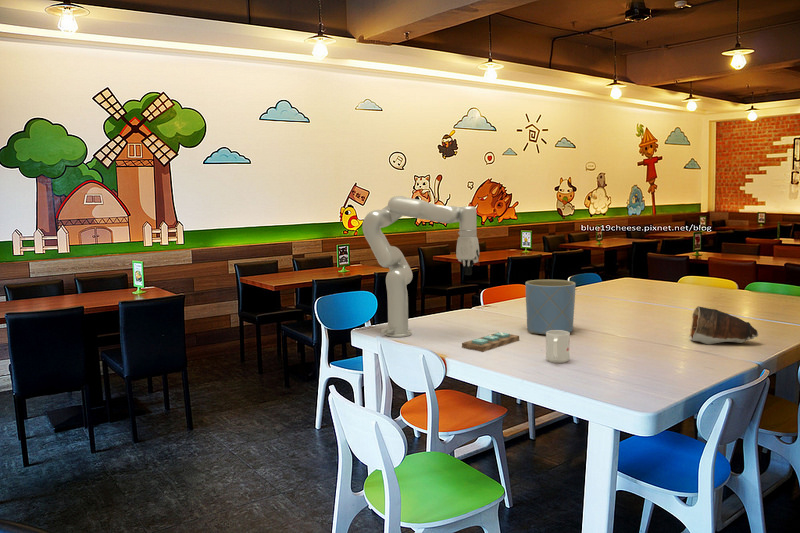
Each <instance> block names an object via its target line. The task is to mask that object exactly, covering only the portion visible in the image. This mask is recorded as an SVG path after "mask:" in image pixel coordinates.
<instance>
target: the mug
mask: <svg viewBox="0 0 800 533" xmlns="http://www.w3.org/2000/svg"><path fill="white" fill-rule="evenodd" d="M570 337H571V332H567V331H563V330H550V331H547V332H546V334H545V358H546V360H547V361H548V362H549V363H554V364H564V363H567V362H568V361H570V357H571V356H570V353H571V352H570V351H571V350H570V348H571V347H570V346H571V345H570V344H571V338H570Z"/></svg>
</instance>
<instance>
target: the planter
mask: <svg viewBox="0 0 800 533" xmlns="http://www.w3.org/2000/svg"><path fill="white" fill-rule="evenodd" d="M524 284H525V308H526V310H525V311H526V327H527V328H526V329H527V330H528V333H529V334H539V335H540V334H541V335H546V332H547V331H550V330H563V331H567V332H569V333H572V331H574V319H575V318H574V316H575V305H576V304H575V303H576V302H575V301H576V300H575V299H576V285H577V284H576V282H575V281H572V280H565V279H534V280H532V279H530V280H527V281H525V283H524Z"/></svg>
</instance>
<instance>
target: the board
mask: <svg viewBox="0 0 800 533" xmlns="http://www.w3.org/2000/svg"><path fill="white" fill-rule="evenodd" d="M496 333H499V332H495V333H492V334H488V335H486V336H489V335H492V336H494V334H496ZM509 334H510V333H509ZM486 336H481V337H478V338H477V339H479V338H480V339H483V337H486ZM475 339H476V338H475ZM475 339H471V340H468V341H464V342H462V343H461V348H462V349H466V350H467V349H468V350H472V351H477V352H482V353H483V352H486V351H490V350H492V349H497V348H499V347H502V346H506V345H508V344H511V343H515V342H518V341H520V335H518V334H517V335H516V334H512V333H511V334H510V336H509V337H506V338H499V340H496V341H493V342H492V341H488V343H486V344H483V345H479V344H474V343H472V340H475Z"/></svg>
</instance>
